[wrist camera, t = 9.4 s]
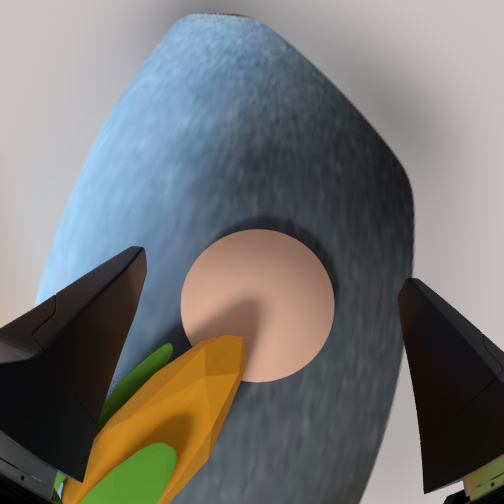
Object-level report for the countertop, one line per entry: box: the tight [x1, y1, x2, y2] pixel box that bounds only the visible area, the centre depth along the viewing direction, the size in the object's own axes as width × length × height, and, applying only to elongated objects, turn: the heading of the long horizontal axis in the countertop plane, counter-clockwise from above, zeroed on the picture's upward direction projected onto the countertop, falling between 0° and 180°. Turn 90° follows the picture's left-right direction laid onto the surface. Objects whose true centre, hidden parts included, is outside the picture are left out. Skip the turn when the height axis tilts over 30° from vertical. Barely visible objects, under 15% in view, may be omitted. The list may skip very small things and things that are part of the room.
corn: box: [54, 335, 245, 504], centre depth 13 cm, size 7×8×20 cm
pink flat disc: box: [181, 229, 334, 382], centre depth 18 cm, size 9×9×1 cm
